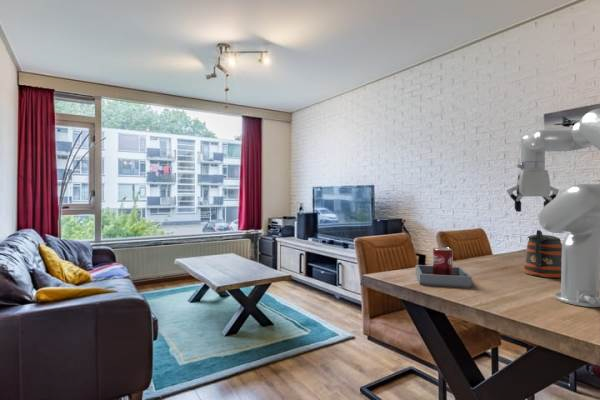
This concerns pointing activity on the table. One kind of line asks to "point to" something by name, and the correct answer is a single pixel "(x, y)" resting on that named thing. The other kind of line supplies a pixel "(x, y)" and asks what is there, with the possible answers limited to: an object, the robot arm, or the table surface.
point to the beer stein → (543, 256)
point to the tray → (443, 277)
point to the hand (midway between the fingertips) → (532, 211)
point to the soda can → (442, 261)
